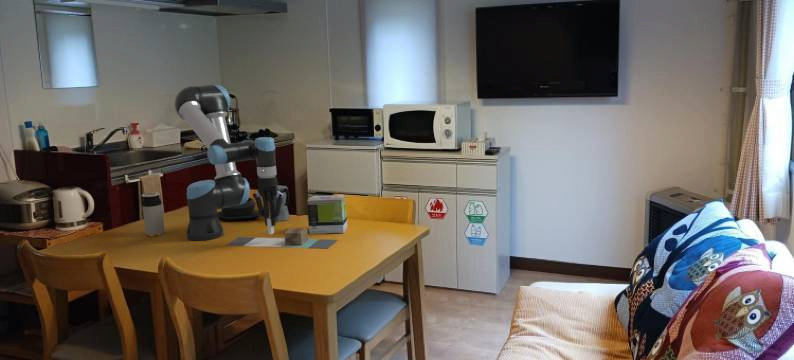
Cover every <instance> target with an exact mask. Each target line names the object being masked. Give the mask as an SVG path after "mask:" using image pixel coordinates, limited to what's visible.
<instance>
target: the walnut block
mask: <svg viewBox="0 0 794 360" xmlns="http://www.w3.org/2000/svg"><path fill="white" fill-rule="evenodd" d="M308 232H309V231H308V228H292V227H291V228H289V229H288V230H286V231H285V232H284V238H285V245H303V244H304V243H306V242H307V241H308V239H309V238H308V237H309V233H308Z"/></svg>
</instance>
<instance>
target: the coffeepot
mask: <svg viewBox="0 0 794 360" xmlns="http://www.w3.org/2000/svg"><path fill="white" fill-rule="evenodd" d="M277 188H278V190H279V192H281V193H284V196H283V198H282V203H281V209H280V215H279V216H277V217H275V223H281V222H286V221H290V220H291V218H290V214H289V210H288V205H289V199H290V191H289V187H287V186H286V185H280V181H277ZM277 198H278V197H277V195H276V196H275V208H276V202H277Z"/></svg>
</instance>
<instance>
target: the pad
mask: <svg viewBox="0 0 794 360" xmlns="http://www.w3.org/2000/svg"><path fill="white" fill-rule="evenodd" d="M319 239H320V238H315V239H314V238H308V241H307V242H306V243H304V244H303V245H285V244H283V245H282V246H280V247H279V248H301V249H302V248H303V249H304V248H305V249H307V248H308V249H310V248H309V247H310V246H311V245H313V244H314V243H315V242H316V241H318V240H319Z"/></svg>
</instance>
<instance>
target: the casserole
mask: <svg viewBox="0 0 794 360" xmlns="http://www.w3.org/2000/svg"><path fill="white" fill-rule="evenodd" d="M255 206H257V204H256V201H255V198H252V197H248V200H247V202H246V203H244V204H242V205H238V206H233V207H228V208H223V209H220V211H217V213H218V218H221V219H226V220H229V221H242V219H243V220H247V219H252V218H258V217H261V216H260V214H259V210H257V209H255V208H256V207H255Z"/></svg>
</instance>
